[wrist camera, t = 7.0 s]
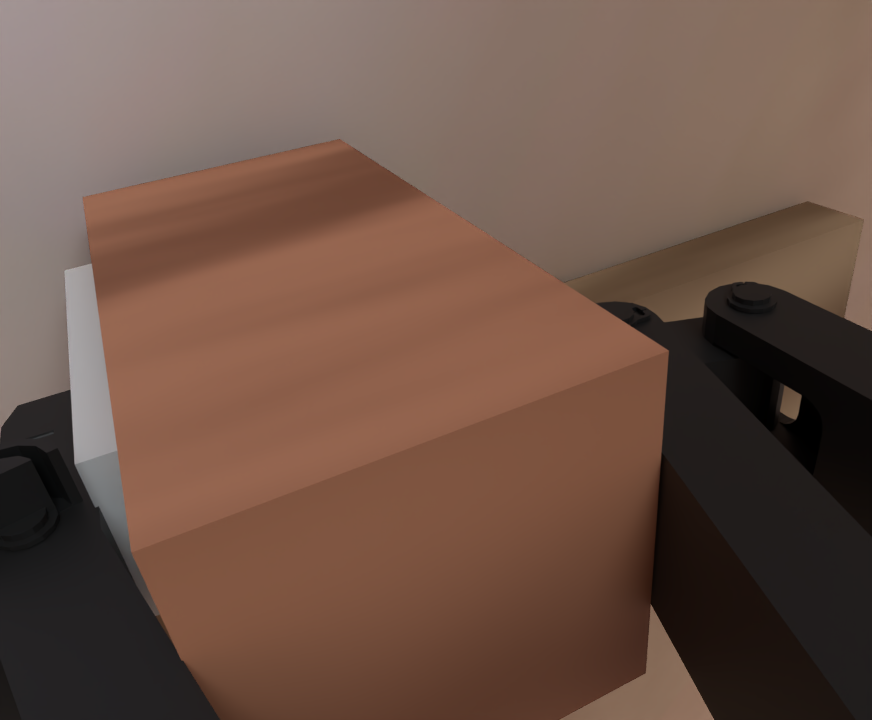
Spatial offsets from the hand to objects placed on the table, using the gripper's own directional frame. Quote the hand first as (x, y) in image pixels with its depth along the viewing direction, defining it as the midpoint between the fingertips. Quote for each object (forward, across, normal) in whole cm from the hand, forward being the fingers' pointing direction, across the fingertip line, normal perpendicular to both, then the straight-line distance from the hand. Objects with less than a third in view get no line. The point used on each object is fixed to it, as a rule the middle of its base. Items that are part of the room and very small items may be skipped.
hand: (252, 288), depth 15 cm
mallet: (0, 0, -5) cm, 5 cm away
